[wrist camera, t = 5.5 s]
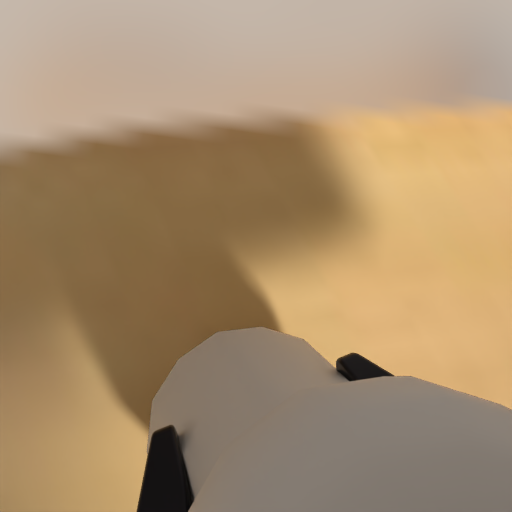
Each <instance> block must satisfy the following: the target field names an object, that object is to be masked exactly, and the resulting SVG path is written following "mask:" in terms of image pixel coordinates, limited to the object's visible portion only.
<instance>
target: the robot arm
mask: <svg viewBox="0 0 512 512" xmlns="http://www.w3.org/2000/svg"><path fill="white" fill-rule="evenodd" d="M336 370H337V371H338V372H339V373H341V374H342V375H343V376H344V377H345V378H346V379H347V380H348V381H349V382H350V381H357V380H363V379H370V378H376V377H383V376H394V375H392V374H391V373H389V372H387V371H386V370H384V369H382V368H381V367H379V366H377V365H376V364H374V363H372V362H371V361H369V360H367V359H366V358H364V357H362V356H361V355H359V354H357V353H350V354H348V355H345V356H343V357H340V358H338V359H337V361H336ZM191 505H192V499H191V491H190V486H189V482H188V478H187V474H186V470H185V466H184V462H183V458H182V454H181V449H180V443H179V436H178V433H177V431H176V429H175V427H174V426H173V425H168V426H166V427H163V428H161V429H158V430H156V431H154V432H153V434H152V436H151V441H150V446H149V451H148V456H147V461H146V466H145V471H144V477H143V482H142V487H141V492H140V497H139V502H138V507H137V512H188V511H189V509H190V507H191Z"/></svg>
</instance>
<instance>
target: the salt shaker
mask: <svg viewBox="0 0 512 512" xmlns="http://www.w3.org/2000/svg"><path fill="white" fill-rule="evenodd" d="M168 425H173V426H174V427H175V429H176V431H177V433H178V436H179V443H180V449H181V454H182V458H183V462H184V466H185V470H186V474H187V478H188V482H189V486H190V491H191V499H192V505H191V507H190V509H189V511H188V512H512V410H511V409H509V408H507V407H505V406H503V405H501V404H497V403H494V402H491V401H488V400H485V399H482V398H478V397H475V396H472V395H469V394H466V393H462V392H459V391H456V390H453V389H450V388H447V387H443V386H440V385H437V384H434V383H431V382H428V381H424V380H421V379H418V378H415V377H412V376H383V377H376V378H370V379H363V380H357V381H350V382H349V381H348V380H347V379H346V378H345V377H344V376H343V375H342V374H341V373H339V372H338V371H337V370H336V369H335V368H334V367H333V366H332V365H331V364H330V363H329V362H328V361H327V360H326V359H325V358H323V357H322V356H321V355H320V354H319V353H318V352H317V351H316V350H315V349H314V348H313V347H312V346H311V345H309V344H308V343H307V342H306V341H305V340H304V339H301V338H298V337H294V336H291V335H288V334H284V333H281V332H278V331H275V330H271V329H268V328H265V327H254V328H246V329H237V330H229V331H220V332H216V333H215V334H213V335H212V336H211V337H209V338H208V339H206V340H205V341H203V342H202V343H201V344H199V345H198V346H196V347H195V348H193V349H192V350H191V351H189V352H188V353H186V354H185V355H183V356H182V357H181V358H179V359H178V360H177V362H176V363H175V365H174V367H173V368H172V370H171V371H170V373H169V375H168V376H167V378H166V379H165V381H164V382H163V384H162V386H161V387H160V389H159V390H158V392H157V394H156V395H155V397H154V398H153V400H152V407H151V416H150V426H149V435H148V445H147V454H148V451H149V446H150V441H151V436H152V434H153V432H154V431H156V430H158V429H161V428H163V427H166V426H168Z"/></svg>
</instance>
